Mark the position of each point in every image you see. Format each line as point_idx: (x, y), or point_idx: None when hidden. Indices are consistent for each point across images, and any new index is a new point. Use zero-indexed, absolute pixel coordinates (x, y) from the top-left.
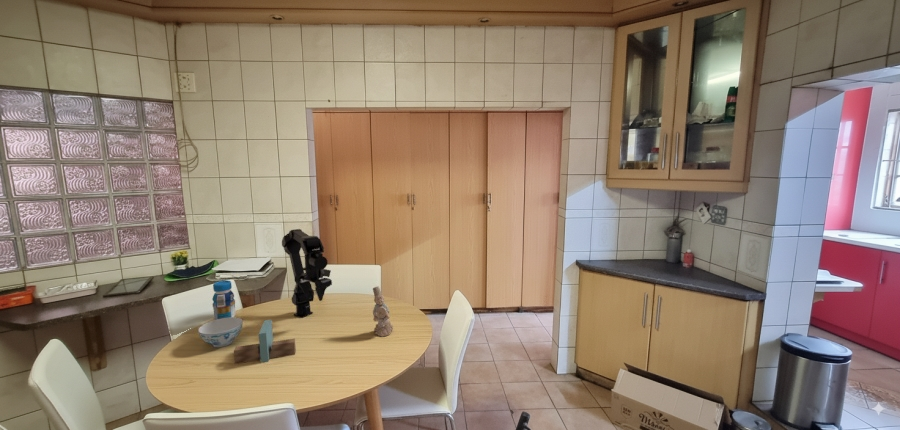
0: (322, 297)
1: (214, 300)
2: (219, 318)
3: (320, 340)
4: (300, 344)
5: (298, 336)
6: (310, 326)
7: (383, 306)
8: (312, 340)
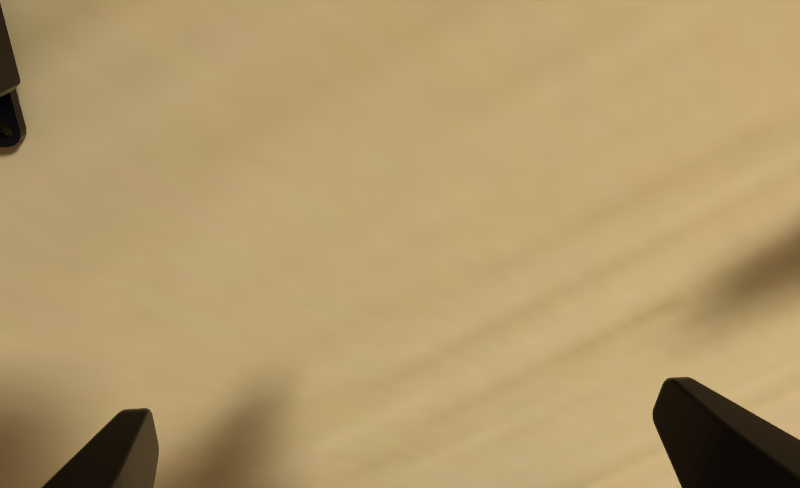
0: (760, 429)
1: None
2: None
3: (662, 340)
4: (556, 440)
5: (438, 393)
6: (364, 230)
7: None
8: (599, 371)
